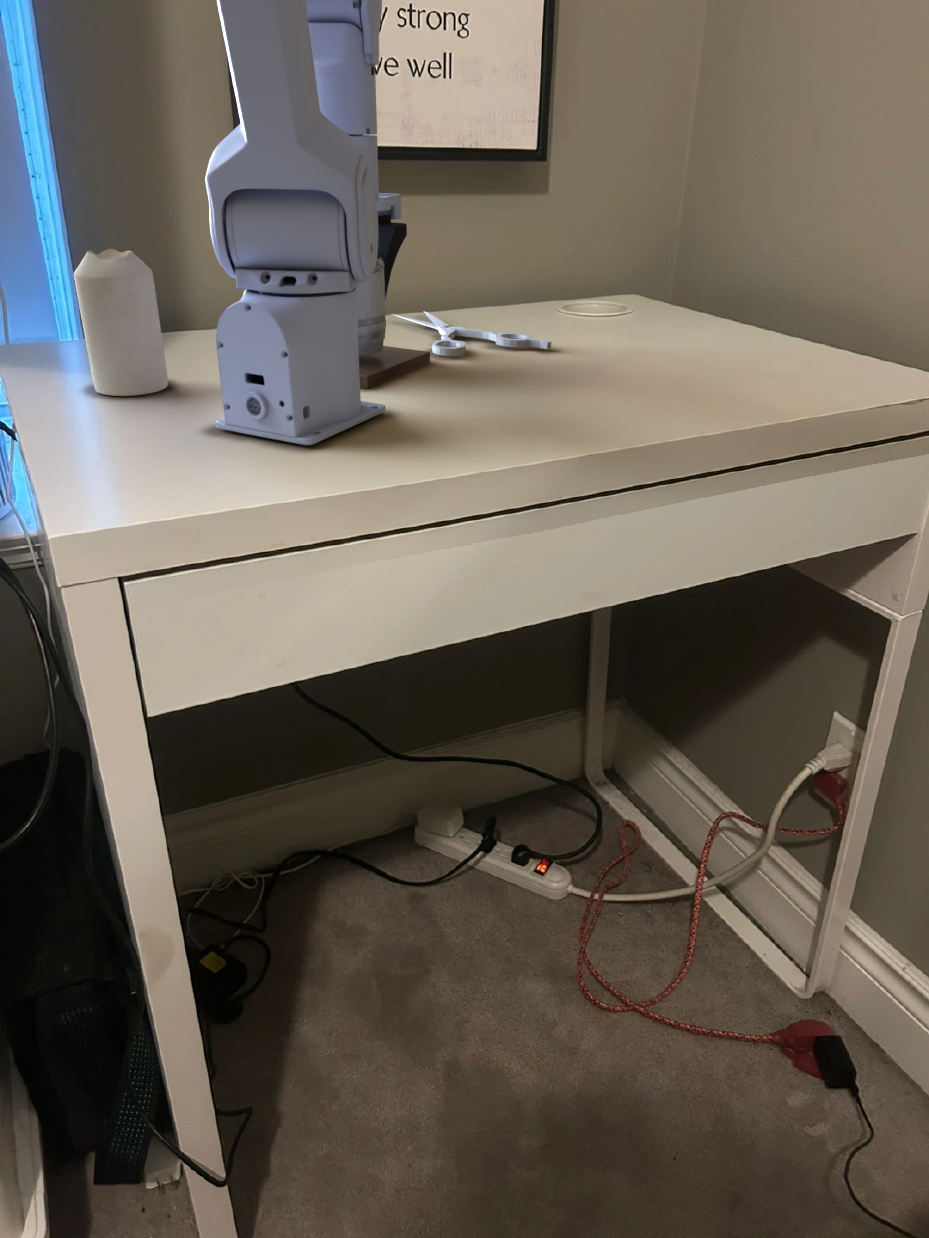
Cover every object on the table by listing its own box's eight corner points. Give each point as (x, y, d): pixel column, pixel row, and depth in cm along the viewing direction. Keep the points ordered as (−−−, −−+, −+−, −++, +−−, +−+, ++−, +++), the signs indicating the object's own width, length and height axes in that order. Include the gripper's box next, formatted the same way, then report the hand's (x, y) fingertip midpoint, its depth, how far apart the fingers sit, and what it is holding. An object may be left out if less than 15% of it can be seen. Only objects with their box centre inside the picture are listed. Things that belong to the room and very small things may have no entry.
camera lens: (329, 339, 81) (324, 243, 77) (397, 344, 79) (394, 247, 76) (299, 354, 76) (291, 252, 72) (370, 360, 74) (366, 256, 70)
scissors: (450, 352, 80) (359, 312, 95) (450, 361, 80) (359, 320, 95) (552, 341, 84) (449, 305, 100) (551, 350, 85) (449, 312, 100)
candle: (91, 399, 69) (65, 256, 64) (97, 381, 73) (73, 246, 69) (168, 394, 70) (148, 254, 65) (168, 377, 75) (150, 245, 70)
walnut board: (367, 388, 72) (367, 376, 72) (266, 373, 76) (265, 361, 76) (430, 363, 80) (430, 351, 80) (335, 350, 84) (334, 339, 84)
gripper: (327, 137, 62) (338, 341, 69) (432, 135, 74) (432, 311, 80) (245, 135, 65) (263, 331, 72) (358, 134, 77) (365, 303, 83)
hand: (348, 320), depth 76 cm, fingers closed on camera lens, 6 cm apart
